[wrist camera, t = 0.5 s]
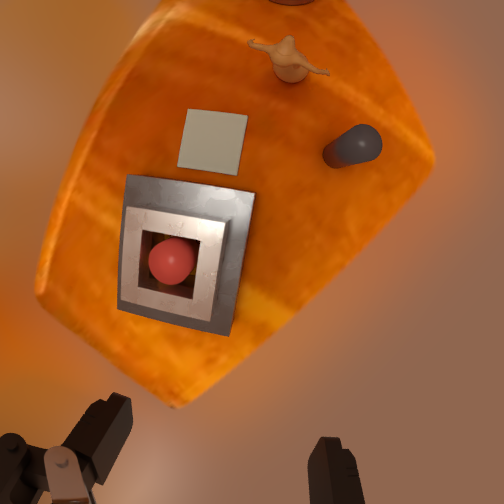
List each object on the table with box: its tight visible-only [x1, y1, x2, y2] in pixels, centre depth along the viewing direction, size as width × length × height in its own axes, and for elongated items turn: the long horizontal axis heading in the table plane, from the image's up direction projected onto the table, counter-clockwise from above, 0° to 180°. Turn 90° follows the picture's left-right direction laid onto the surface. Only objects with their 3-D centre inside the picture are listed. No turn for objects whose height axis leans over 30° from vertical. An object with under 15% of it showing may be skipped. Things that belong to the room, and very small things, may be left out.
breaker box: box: [117, 174, 256, 337], centre depth 31 cm, size 16×14×7 cm
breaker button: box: [149, 236, 199, 285], centre depth 31 cm, size 4×4×4 cm
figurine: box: [247, 35, 330, 83], centre depth 24 cm, size 8×6×12 cm
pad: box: [177, 109, 248, 176], centre depth 32 cm, size 7×7×1 cm
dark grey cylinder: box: [323, 124, 382, 168], centre depth 26 cm, size 3×3×11 cm
